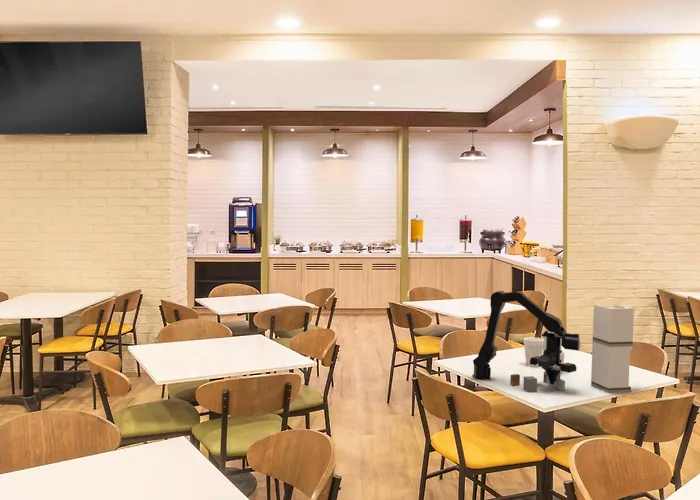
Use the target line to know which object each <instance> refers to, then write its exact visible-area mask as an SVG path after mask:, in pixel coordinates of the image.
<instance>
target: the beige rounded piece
mask: <svg viewBox="0 0 700 500" xmlns="http://www.w3.org/2000/svg"><path fill="white" fill-rule="evenodd" d="M560 360H562V362H561V364H564V363H565V362H564V361H565V351H564V350H562V353H560ZM555 365H556V364H555ZM563 373H564V372H563V371H561V374H560V375H563Z"/></svg>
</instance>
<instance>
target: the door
mask: <svg viewBox="0 0 700 500" xmlns="http://www.w3.org/2000/svg"><path fill="white" fill-rule="evenodd" d="M546 384H548V385H551V386H553V387H554V388H556V389H558V390H560V391H563V392H565V391H566V380H564V379H562V378H561V377H560V378H558V377H557V378H556V380H555V382H554V384H553V385H552V384H550V381H549V378H548V375H547V382H546Z"/></svg>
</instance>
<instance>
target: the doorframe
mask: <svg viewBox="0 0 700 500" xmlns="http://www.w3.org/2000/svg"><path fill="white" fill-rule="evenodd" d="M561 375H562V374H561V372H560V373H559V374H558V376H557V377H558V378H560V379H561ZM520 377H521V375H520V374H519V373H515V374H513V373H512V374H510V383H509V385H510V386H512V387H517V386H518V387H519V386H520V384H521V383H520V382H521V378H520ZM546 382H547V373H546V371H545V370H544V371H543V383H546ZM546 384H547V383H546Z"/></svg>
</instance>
